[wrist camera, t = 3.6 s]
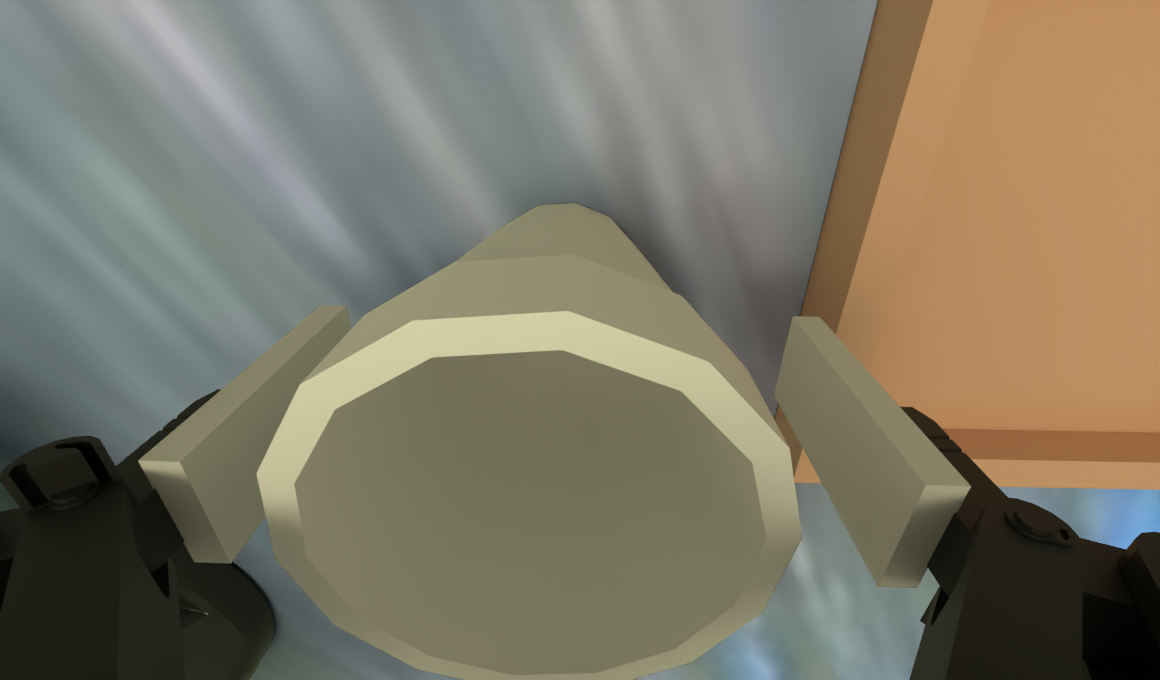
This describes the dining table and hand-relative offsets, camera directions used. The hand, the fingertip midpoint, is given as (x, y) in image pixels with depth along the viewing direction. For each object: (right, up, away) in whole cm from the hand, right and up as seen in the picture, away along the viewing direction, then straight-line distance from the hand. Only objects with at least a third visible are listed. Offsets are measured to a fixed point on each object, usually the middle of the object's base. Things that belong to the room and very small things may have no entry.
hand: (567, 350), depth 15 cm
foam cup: (0, +3, +6) cm, 6 cm away
